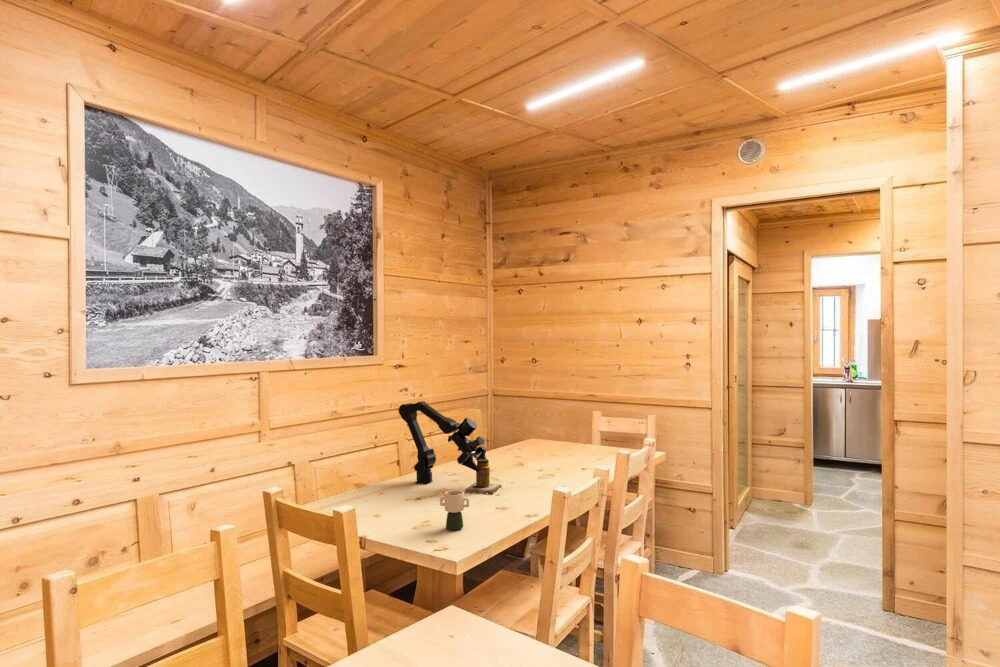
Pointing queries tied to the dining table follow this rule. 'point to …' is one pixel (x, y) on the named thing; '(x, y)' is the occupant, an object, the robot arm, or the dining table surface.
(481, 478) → the condiment
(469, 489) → the plinth
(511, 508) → the dining table surface
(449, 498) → the character mug
